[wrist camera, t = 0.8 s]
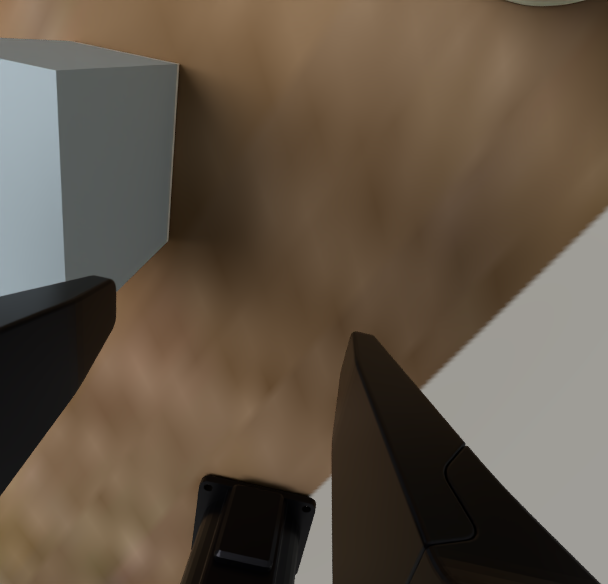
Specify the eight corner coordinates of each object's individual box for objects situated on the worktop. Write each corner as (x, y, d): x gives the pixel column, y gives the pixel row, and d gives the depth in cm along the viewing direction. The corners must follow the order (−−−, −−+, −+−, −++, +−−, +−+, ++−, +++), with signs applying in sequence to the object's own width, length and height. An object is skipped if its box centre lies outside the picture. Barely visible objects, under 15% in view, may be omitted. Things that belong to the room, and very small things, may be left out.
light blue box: (168, 240, 21) (68, 339, 14) (78, 221, 21) (-70, 309, 14) (179, 63, 18) (55, 70, 10) (72, 41, 18) (-124, 32, 10)
